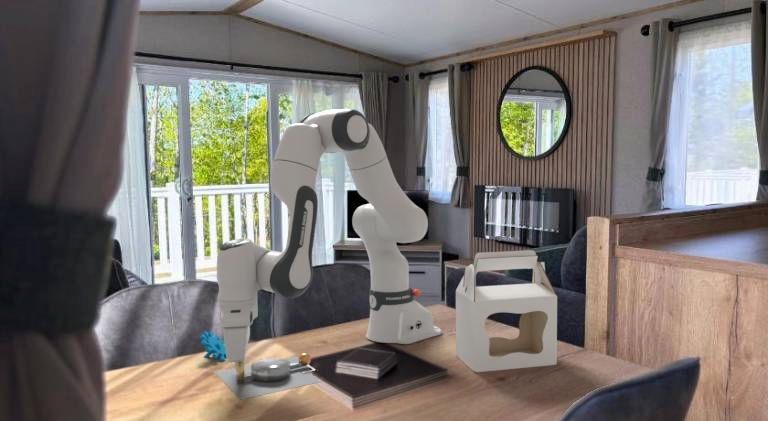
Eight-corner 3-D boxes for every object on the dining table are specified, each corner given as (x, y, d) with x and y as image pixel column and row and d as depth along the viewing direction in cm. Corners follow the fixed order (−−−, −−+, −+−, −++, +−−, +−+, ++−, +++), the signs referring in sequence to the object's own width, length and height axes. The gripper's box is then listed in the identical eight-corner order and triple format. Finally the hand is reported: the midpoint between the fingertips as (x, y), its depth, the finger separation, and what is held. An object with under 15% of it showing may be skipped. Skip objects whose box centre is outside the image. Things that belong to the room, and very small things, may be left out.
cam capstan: (229, 377, 136) (228, 357, 135) (301, 360, 147) (300, 342, 147) (246, 389, 128) (245, 368, 128) (320, 370, 139) (320, 351, 139)
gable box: (473, 373, 140) (473, 257, 138) (454, 356, 153) (454, 249, 151) (557, 365, 145) (558, 253, 143) (532, 349, 158) (533, 246, 156)
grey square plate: (295, 360, 151) (295, 355, 151) (330, 383, 134) (330, 378, 134) (214, 376, 140) (214, 371, 140) (240, 404, 123) (240, 398, 123)
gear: (222, 362, 145) (197, 332, 147) (206, 378, 146) (181, 348, 147) (241, 354, 156) (217, 326, 158) (226, 369, 157) (202, 341, 158)
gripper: (228, 300, 145) (230, 355, 146) (218, 322, 125) (221, 385, 126) (254, 299, 146) (256, 353, 147) (249, 320, 126) (251, 383, 127)
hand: (240, 368), depth 136 cm, fingers closed
